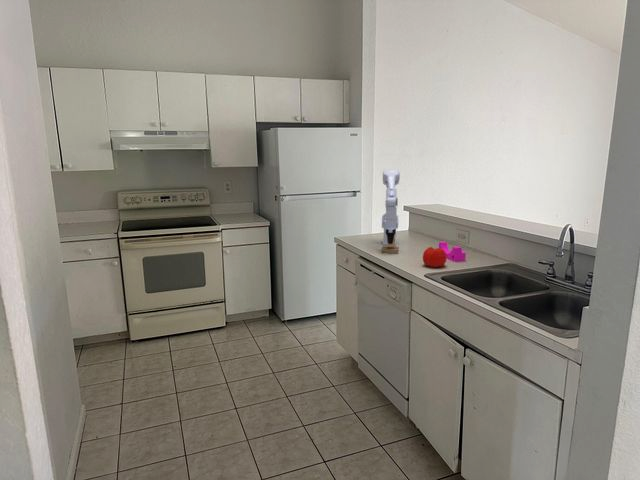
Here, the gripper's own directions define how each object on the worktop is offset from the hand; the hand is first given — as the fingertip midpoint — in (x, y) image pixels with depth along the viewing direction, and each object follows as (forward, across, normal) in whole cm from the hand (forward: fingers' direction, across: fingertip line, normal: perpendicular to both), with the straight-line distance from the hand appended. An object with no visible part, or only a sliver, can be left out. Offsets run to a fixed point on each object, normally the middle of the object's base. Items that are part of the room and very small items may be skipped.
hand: (390, 242), depth 250 cm
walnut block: (+6, 0, 0) cm, 6 cm away
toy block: (+6, +8, +32) cm, 34 cm away
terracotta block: (+2, 0, 0) cm, 2 cm away
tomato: (+6, +26, +22) cm, 35 cm away
